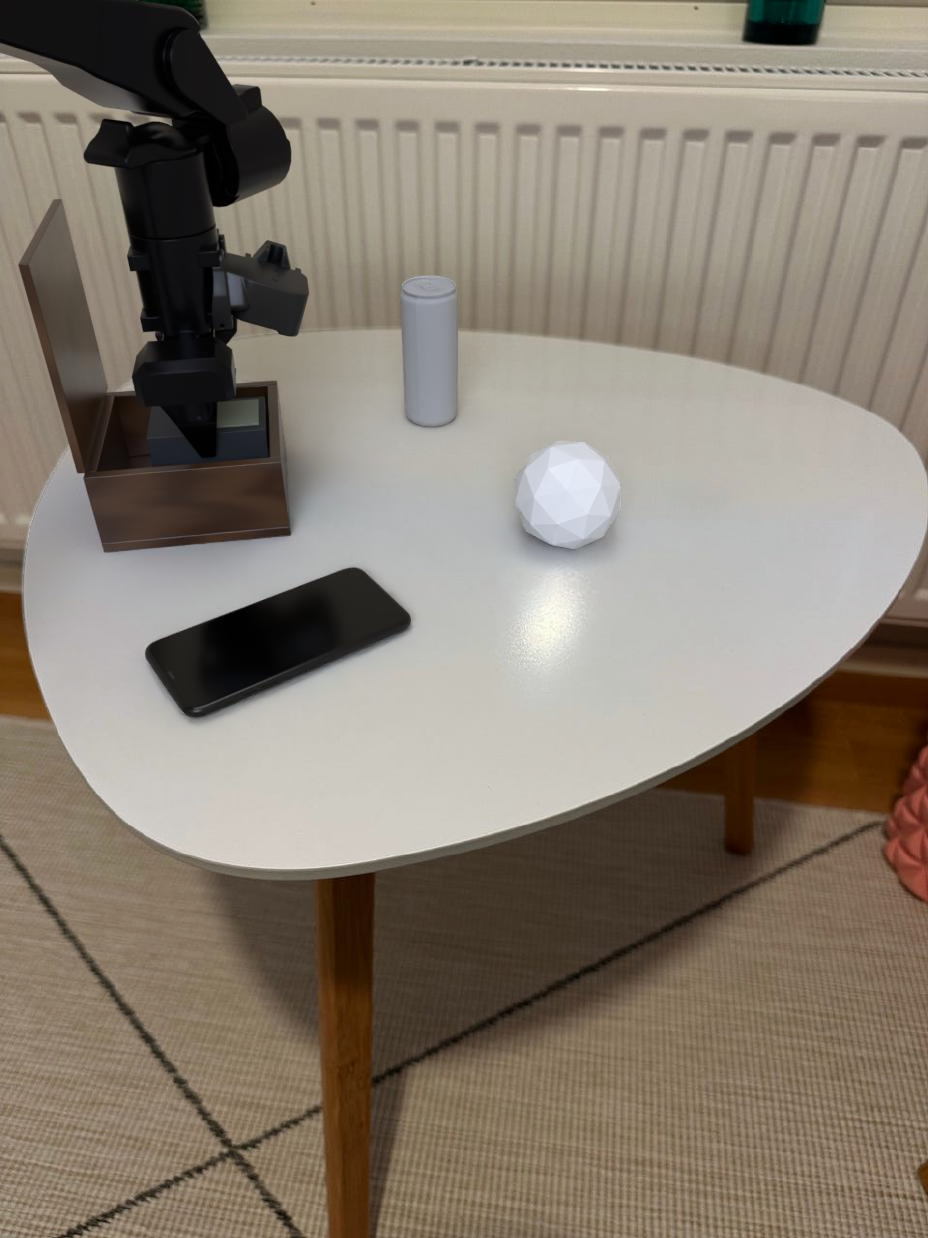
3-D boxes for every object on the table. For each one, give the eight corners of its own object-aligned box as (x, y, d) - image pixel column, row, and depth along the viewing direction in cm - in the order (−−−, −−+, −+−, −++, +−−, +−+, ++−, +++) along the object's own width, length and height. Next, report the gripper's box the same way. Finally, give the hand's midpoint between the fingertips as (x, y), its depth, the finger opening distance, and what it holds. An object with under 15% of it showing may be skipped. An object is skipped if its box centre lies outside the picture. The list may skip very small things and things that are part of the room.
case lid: (61, 198, 69) (52, 198, 69) (28, 263, 58) (17, 264, 58) (108, 387, 78) (100, 388, 78) (86, 473, 67) (77, 474, 67)
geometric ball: (541, 555, 76) (525, 453, 76) (641, 539, 73) (625, 432, 72) (506, 560, 69) (488, 447, 69) (615, 542, 66) (597, 424, 66)
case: (285, 448, 84) (277, 379, 80) (290, 535, 73) (280, 461, 69) (122, 461, 82) (105, 391, 78) (103, 552, 72) (82, 478, 68)
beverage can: (439, 399, 91) (437, 270, 83) (468, 419, 88) (469, 287, 80) (395, 413, 89) (388, 282, 81) (423, 434, 86) (419, 299, 78)
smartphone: (357, 571, 70) (141, 655, 62) (356, 561, 69) (138, 644, 62) (418, 629, 65) (190, 727, 57) (417, 618, 64) (187, 716, 57)
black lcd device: (154, 474, 72) (145, 436, 70) (159, 439, 76) (151, 402, 74) (270, 464, 73) (264, 427, 71) (269, 430, 78) (264, 394, 76)
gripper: (300, 266, 58) (323, 492, 68) (290, 182, 73) (310, 378, 82) (107, 277, 57) (159, 506, 67) (136, 188, 71) (175, 387, 81)
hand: (209, 438), depth 74 cm, fingers closed on black lcd device, 5 cm apart
